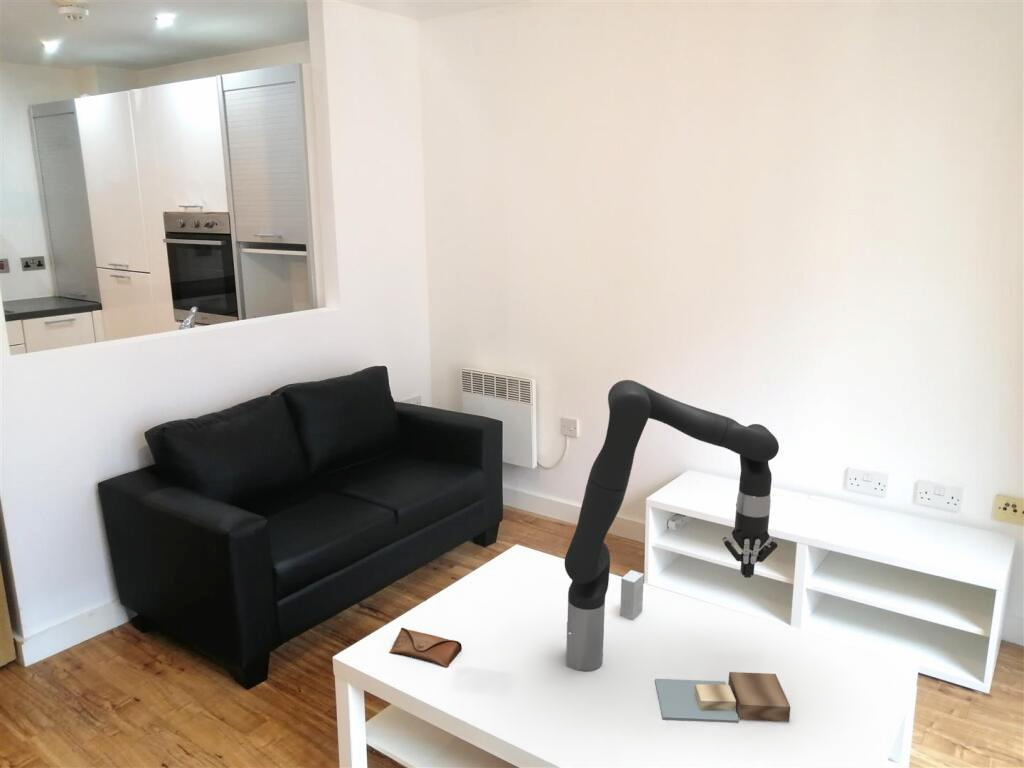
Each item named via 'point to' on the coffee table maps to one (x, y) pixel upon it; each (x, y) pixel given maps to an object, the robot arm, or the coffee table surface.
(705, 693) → the oak tile
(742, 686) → the block
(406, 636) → the sunglasses case
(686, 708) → the grey mat
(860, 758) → the coffee table surface
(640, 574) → the skincare box
